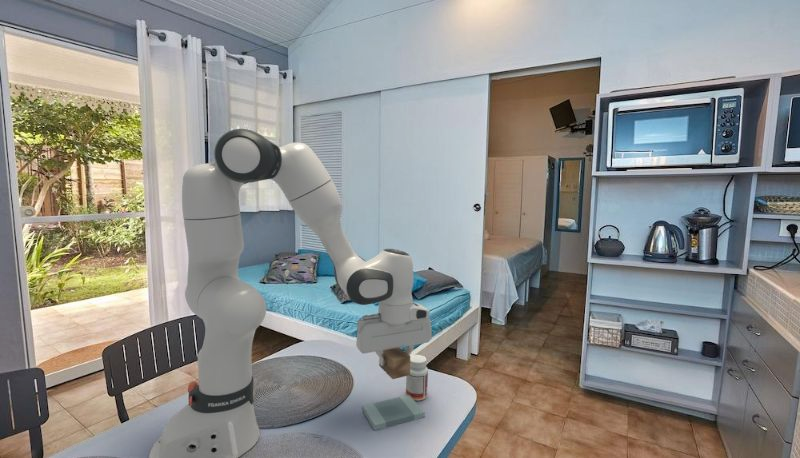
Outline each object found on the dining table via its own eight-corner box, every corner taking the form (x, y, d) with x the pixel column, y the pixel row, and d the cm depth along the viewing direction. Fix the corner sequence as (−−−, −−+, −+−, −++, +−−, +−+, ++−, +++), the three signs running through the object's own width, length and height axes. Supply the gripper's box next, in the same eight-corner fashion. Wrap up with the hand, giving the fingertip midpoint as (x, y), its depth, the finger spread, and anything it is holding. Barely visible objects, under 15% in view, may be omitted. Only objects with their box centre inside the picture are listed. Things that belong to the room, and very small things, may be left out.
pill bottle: (417, 387, 112) (418, 351, 111) (431, 396, 107) (432, 359, 106) (401, 394, 108) (402, 357, 107) (415, 404, 104) (416, 365, 102)
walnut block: (392, 379, 93) (393, 360, 92) (379, 365, 100) (379, 347, 99) (410, 375, 95) (410, 356, 95) (395, 361, 102) (395, 344, 102)
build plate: (374, 430, 92) (374, 425, 92) (362, 410, 100) (362, 405, 100) (424, 417, 98) (424, 412, 97) (409, 399, 106) (409, 394, 106)
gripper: (361, 320, 89) (360, 375, 90) (435, 310, 97) (433, 360, 99) (353, 312, 94) (352, 364, 96) (423, 303, 103) (422, 351, 104)
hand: (394, 362), depth 97 cm, fingers closed on walnut block, 5 cm apart
